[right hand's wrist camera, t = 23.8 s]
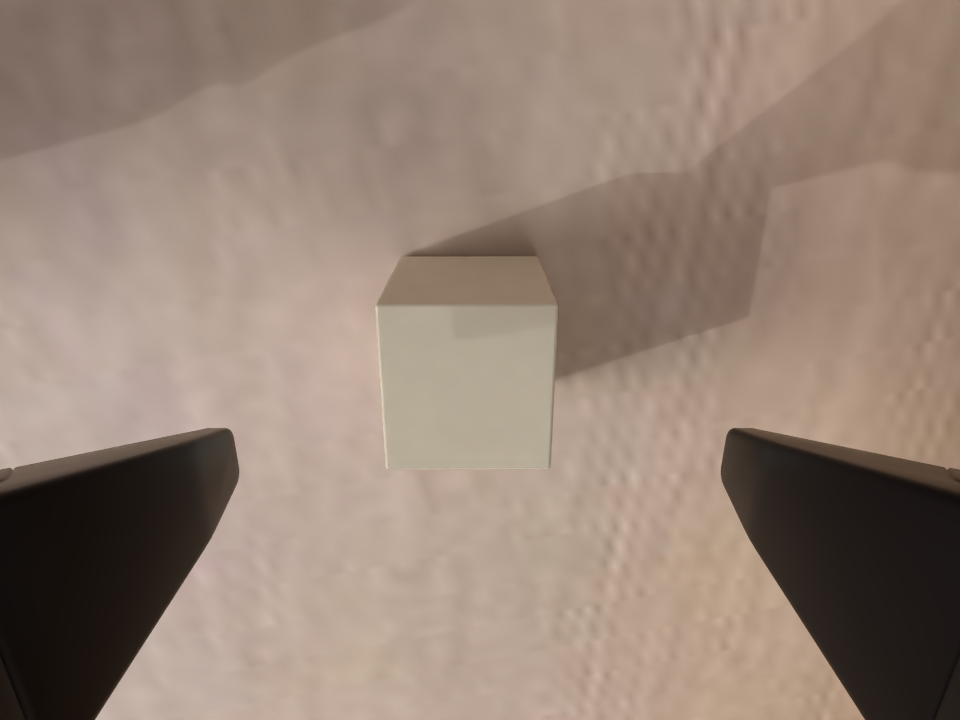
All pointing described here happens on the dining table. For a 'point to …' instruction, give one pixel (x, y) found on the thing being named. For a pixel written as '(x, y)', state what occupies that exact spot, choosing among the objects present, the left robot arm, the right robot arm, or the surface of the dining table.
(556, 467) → the dining table surface
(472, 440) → the block
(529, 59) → the dining table surface
